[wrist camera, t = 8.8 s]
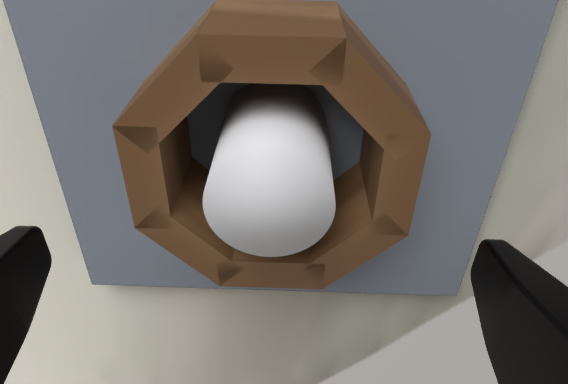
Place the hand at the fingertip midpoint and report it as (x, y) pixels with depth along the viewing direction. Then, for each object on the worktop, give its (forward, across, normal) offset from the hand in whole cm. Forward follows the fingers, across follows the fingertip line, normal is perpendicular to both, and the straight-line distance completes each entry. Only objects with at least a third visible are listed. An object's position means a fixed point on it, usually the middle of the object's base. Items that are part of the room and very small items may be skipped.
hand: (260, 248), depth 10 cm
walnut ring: (+5, 0, 0) cm, 5 cm away
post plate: (+6, 0, 0) cm, 6 cm away
